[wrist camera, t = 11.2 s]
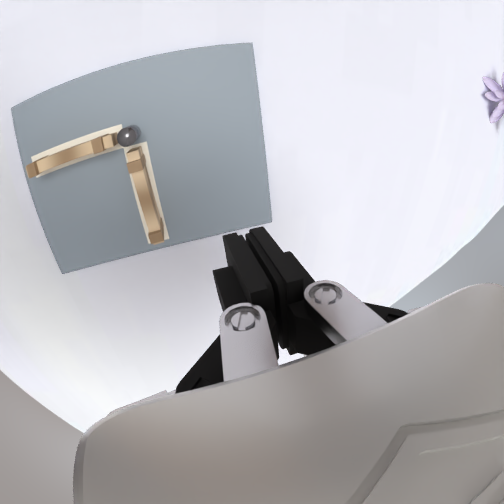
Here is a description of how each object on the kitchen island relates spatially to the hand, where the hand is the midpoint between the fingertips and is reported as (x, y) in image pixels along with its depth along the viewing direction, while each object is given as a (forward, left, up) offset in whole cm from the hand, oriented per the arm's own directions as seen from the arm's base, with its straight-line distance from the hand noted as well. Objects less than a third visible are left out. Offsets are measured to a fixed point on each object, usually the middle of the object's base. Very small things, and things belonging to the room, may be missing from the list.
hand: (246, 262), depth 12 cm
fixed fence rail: (-13, +5, -21) cm, 25 cm away
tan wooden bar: (-6, -2, -21) cm, 22 cm away
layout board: (-6, +2, -22) cm, 23 cm away
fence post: (-6, +5, -22) cm, 23 cm away
